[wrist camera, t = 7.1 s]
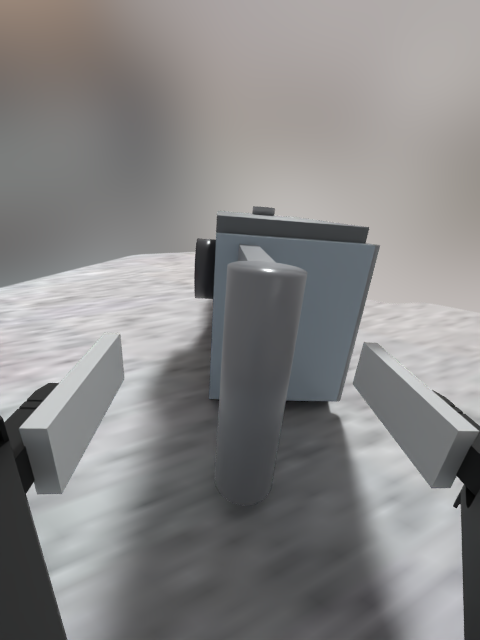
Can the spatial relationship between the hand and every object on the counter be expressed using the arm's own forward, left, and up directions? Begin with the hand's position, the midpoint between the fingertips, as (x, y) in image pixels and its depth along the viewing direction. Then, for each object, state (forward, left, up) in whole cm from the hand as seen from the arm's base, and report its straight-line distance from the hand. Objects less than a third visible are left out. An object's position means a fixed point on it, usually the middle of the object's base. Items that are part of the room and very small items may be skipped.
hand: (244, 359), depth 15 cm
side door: (-2, -3, -6) cm, 7 cm away
